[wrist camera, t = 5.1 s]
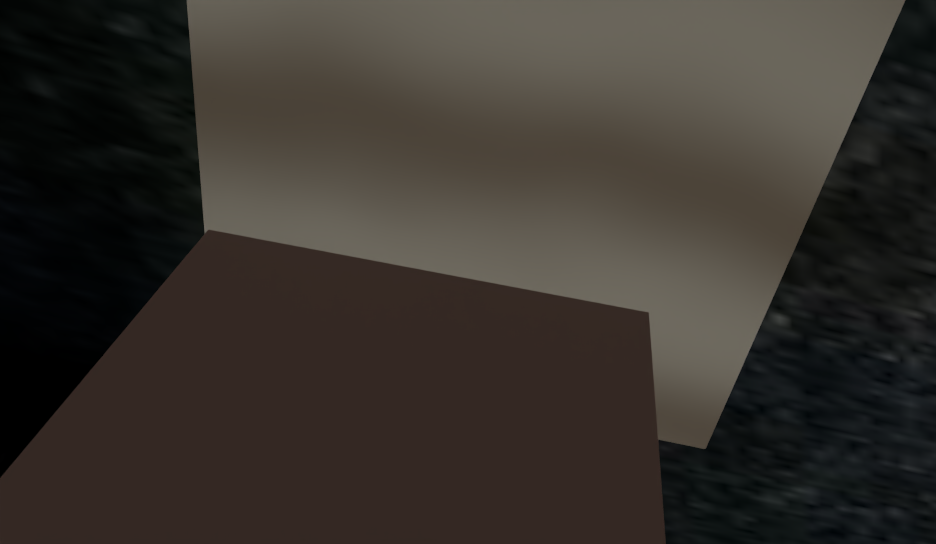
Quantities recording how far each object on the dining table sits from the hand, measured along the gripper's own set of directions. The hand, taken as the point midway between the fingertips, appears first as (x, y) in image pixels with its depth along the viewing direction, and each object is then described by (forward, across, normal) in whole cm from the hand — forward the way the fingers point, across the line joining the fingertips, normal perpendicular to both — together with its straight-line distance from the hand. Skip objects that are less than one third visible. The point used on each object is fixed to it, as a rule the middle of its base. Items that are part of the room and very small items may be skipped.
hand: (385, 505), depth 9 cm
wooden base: (+11, 0, 0) cm, 11 cm away
